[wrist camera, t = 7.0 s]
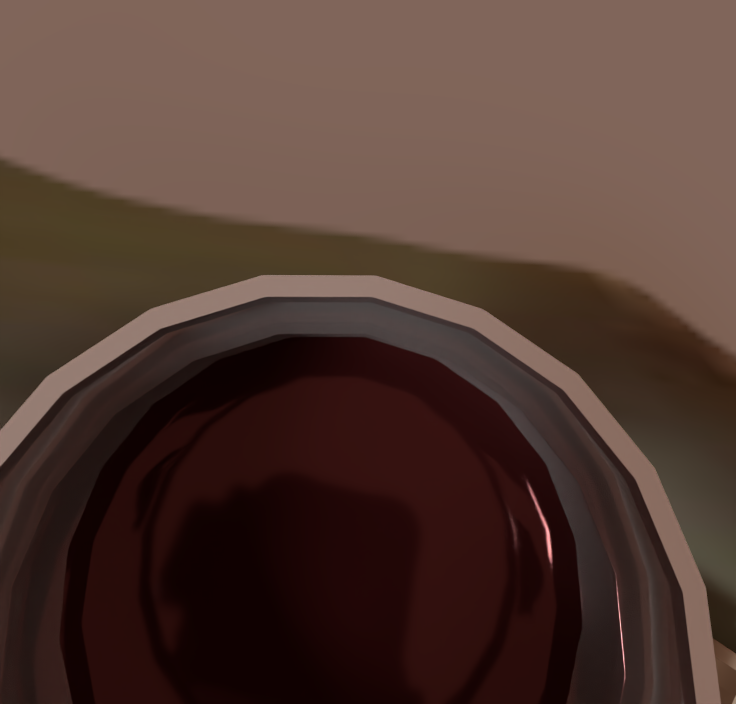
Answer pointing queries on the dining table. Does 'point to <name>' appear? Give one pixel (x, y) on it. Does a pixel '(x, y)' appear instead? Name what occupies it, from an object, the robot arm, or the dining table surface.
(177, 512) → the wineglass
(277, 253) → the dining table surface
